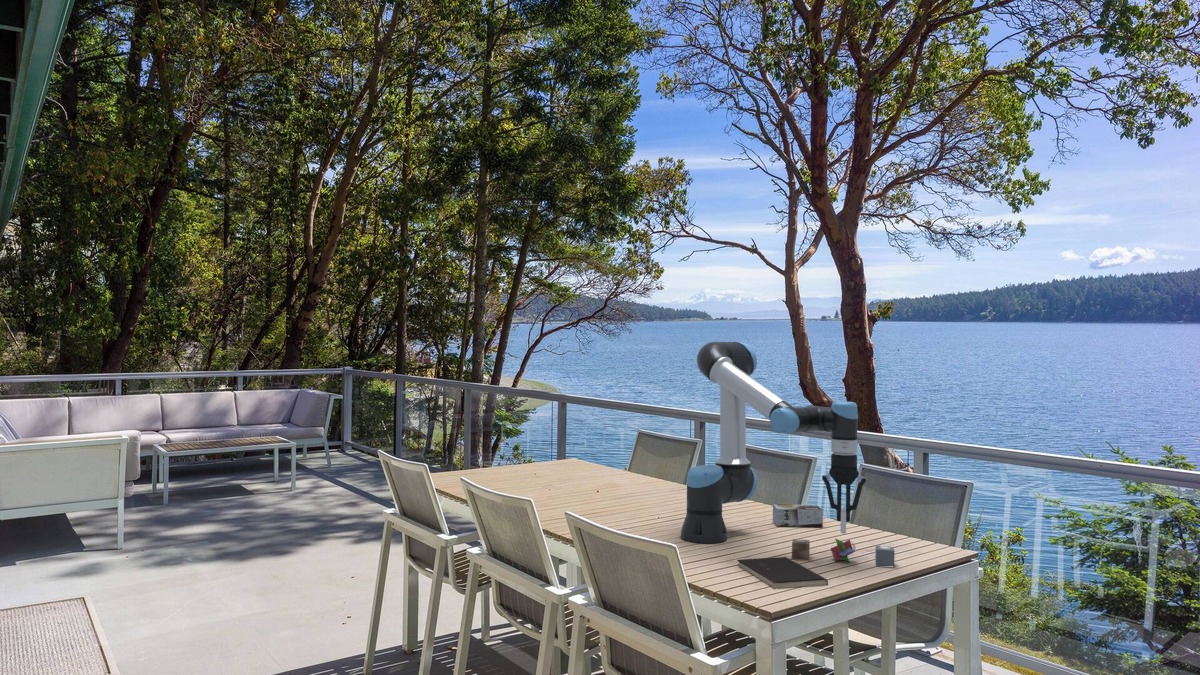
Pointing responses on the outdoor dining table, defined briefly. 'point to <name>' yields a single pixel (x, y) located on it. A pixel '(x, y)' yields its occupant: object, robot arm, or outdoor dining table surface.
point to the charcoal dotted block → (884, 556)
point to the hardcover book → (782, 572)
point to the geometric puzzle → (842, 550)
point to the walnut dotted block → (800, 549)
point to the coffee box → (797, 515)
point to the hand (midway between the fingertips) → (843, 532)
